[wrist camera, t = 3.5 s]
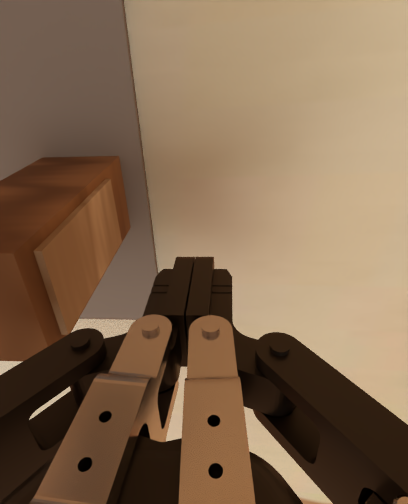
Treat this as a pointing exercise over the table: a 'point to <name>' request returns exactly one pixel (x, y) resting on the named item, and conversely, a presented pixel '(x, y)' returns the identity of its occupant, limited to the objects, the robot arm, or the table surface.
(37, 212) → the walnut block
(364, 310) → the table surface
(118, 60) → the slate mat
